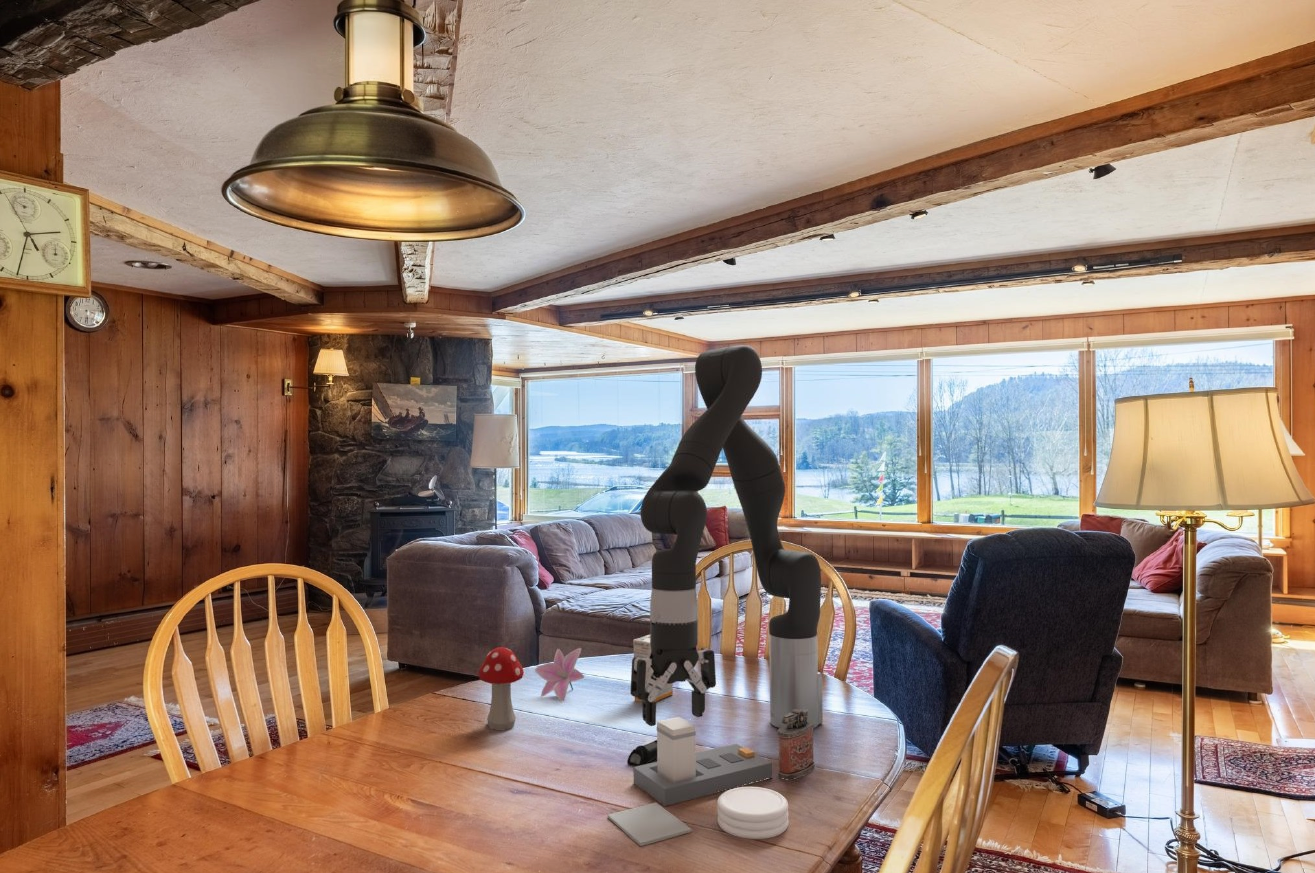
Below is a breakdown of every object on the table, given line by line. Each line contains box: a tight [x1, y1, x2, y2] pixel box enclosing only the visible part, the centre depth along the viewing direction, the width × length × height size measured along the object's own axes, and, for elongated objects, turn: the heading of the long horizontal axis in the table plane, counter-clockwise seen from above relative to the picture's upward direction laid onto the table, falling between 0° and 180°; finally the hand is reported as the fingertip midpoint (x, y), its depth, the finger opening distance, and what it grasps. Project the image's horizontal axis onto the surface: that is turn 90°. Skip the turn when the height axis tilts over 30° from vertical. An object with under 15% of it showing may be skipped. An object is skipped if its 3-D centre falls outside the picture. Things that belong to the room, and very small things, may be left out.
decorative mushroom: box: [478, 646, 524, 731], centre depth 158 cm, size 10×9×15 cm
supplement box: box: [632, 634, 674, 703], centre depth 175 cm, size 8×5×13 cm, turn 144°
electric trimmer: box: [626, 739, 657, 767], centre depth 142 cm, size 4×16×3 cm, turn 140°
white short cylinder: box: [716, 786, 790, 840], centre depth 115 cm, size 10×10×4 cm
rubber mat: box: [607, 802, 692, 847], centre depth 114 cm, size 8×10×1 cm
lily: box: [534, 647, 585, 702], centre depth 178 cm, size 12×12×10 cm
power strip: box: [632, 743, 773, 807], centre depth 130 cm, size 20×10×3 cm, turn 120°
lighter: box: [777, 709, 816, 781], centre depth 133 cm, size 8×3×10 cm, turn 134°
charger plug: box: [656, 716, 697, 783], centre depth 127 cm, size 4×5×10 cm
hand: (674, 720), depth 127 cm, fingers open, 8 cm apart
